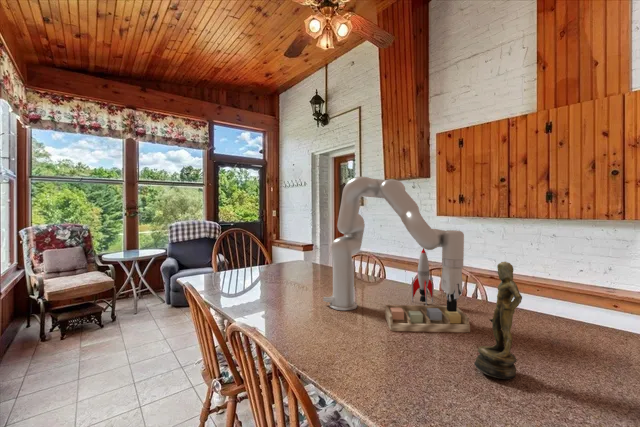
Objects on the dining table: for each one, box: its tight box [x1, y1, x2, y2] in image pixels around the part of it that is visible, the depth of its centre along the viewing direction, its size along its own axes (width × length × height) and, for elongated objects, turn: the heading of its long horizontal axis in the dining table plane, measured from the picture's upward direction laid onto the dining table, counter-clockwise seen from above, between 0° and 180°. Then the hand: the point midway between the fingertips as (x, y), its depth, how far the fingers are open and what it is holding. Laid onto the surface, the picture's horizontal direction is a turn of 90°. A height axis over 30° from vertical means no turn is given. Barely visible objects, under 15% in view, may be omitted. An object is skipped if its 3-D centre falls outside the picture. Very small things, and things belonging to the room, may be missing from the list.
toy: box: [411, 248, 434, 306], centre depth 141 cm, size 10×9×30 cm
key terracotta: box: [390, 308, 404, 319], centre depth 119 cm, size 4×4×3 cm
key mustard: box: [445, 311, 461, 323], centre depth 117 cm, size 4×4×3 cm
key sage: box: [408, 311, 423, 323], centre depth 118 cm, size 4×4×3 cm
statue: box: [474, 261, 523, 380], centre depth 82 cm, size 11×11×30 cm
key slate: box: [427, 308, 442, 320], centre depth 118 cm, size 4×4×3 cm
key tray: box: [384, 304, 471, 333], centre depth 118 cm, size 28×14×5 cm, turn 86°
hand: (451, 310), depth 117 cm, fingers closed
